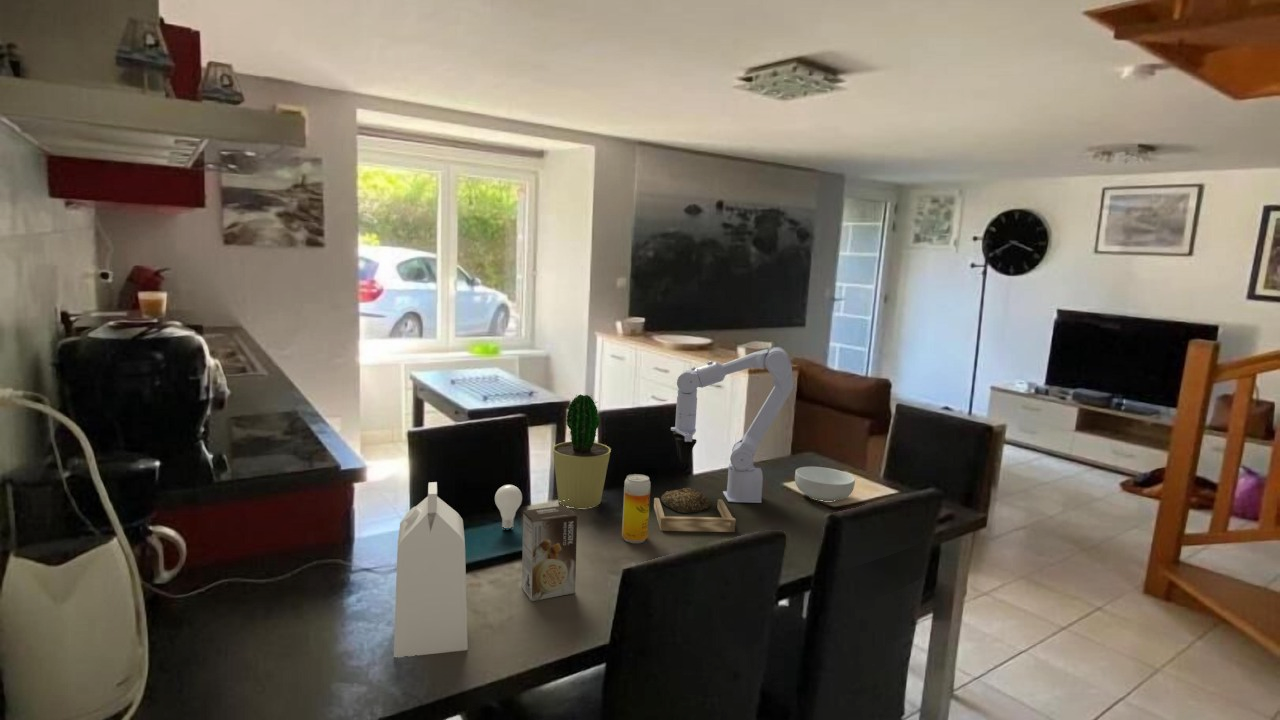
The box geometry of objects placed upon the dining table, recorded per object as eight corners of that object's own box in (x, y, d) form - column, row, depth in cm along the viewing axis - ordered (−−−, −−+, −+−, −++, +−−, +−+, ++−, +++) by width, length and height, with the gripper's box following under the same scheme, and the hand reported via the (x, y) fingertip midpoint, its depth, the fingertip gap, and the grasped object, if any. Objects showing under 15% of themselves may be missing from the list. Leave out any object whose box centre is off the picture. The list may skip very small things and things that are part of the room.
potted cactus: (619, 500, 187) (624, 392, 183) (586, 517, 174) (591, 401, 170) (573, 488, 195) (578, 384, 191) (538, 503, 182) (542, 392, 178)
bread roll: (675, 516, 179) (676, 497, 179) (655, 500, 190) (656, 482, 190) (718, 511, 185) (719, 493, 184) (695, 495, 196) (697, 478, 195)
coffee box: (563, 579, 140) (566, 504, 138) (575, 593, 134) (579, 515, 132) (520, 587, 136) (522, 509, 133) (530, 602, 130) (533, 521, 128)
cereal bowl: (860, 510, 190) (862, 485, 189) (800, 506, 190) (802, 482, 189) (843, 489, 207) (845, 467, 206) (788, 486, 207) (790, 464, 206)
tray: (721, 508, 186) (722, 497, 185) (734, 532, 170) (735, 519, 169) (653, 506, 184) (654, 495, 184) (660, 530, 168) (661, 518, 168)
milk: (467, 649, 113) (470, 498, 110) (393, 658, 110) (393, 502, 106) (464, 613, 125) (466, 475, 121) (397, 619, 121) (397, 477, 118)
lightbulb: (488, 531, 162) (489, 486, 160) (503, 522, 168) (504, 479, 166) (511, 537, 159) (513, 491, 158) (526, 527, 165) (527, 483, 164)
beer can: (647, 544, 159) (650, 482, 157) (621, 543, 159) (624, 481, 157) (647, 534, 165) (651, 474, 163) (622, 533, 165) (625, 472, 163)
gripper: (668, 407, 201) (666, 452, 203) (675, 418, 187) (672, 466, 189) (692, 408, 202) (689, 452, 204) (701, 419, 187) (697, 467, 189)
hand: (683, 459), depth 196 cm, fingers open, 4 cm apart
